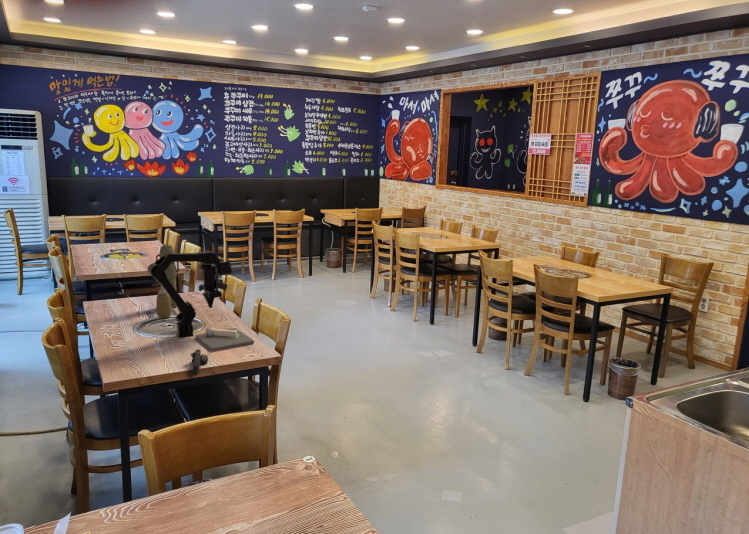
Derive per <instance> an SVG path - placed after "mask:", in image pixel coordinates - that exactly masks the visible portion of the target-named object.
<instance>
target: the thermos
mask: <svg viewBox="0 0 749 534" xmlns="http://www.w3.org/2000/svg"><path fill="white" fill-rule="evenodd" d="M174 250H175V249H174V247H173V246H172V245H169V244H168V245H167V244H166V245H162V246H160V248H159V254H157V255H156V256H155V262H156V261H157V260H158V257H159V259H160V258H161V257H163V256H164V255H165V254H166V253H175V251H174ZM179 271H180V262H172V263H171V264H170V265H169V267H168V268H167V269H166V270H165V273H166V276H167V278H168V280H169V282H170V283H171V284H172V286H173V287H174V288H175V290H176V291H177V274H178V273H179ZM170 301H171V307H172V308H175V309H177V308H176V307H177V305H176V304H175V302H174V301H173V300H172V298H171V297H170Z"/></svg>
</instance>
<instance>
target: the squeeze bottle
mask: <svg viewBox="0 0 749 534" xmlns="http://www.w3.org/2000/svg"><path fill="white" fill-rule="evenodd" d="M157 293H158V294H157V295H156V301H155V302H156V304H155V305H156V306H155V308H156V309H155V312H156V315H157V316H158V318H159V319H168V318H171V315H172V312H173V309H172V307H171V301H170V296H169V294H168V293H167V292H166V291H165V289H164V288H163V287H162V285H161V284H160V290H158V292H157Z"/></svg>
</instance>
